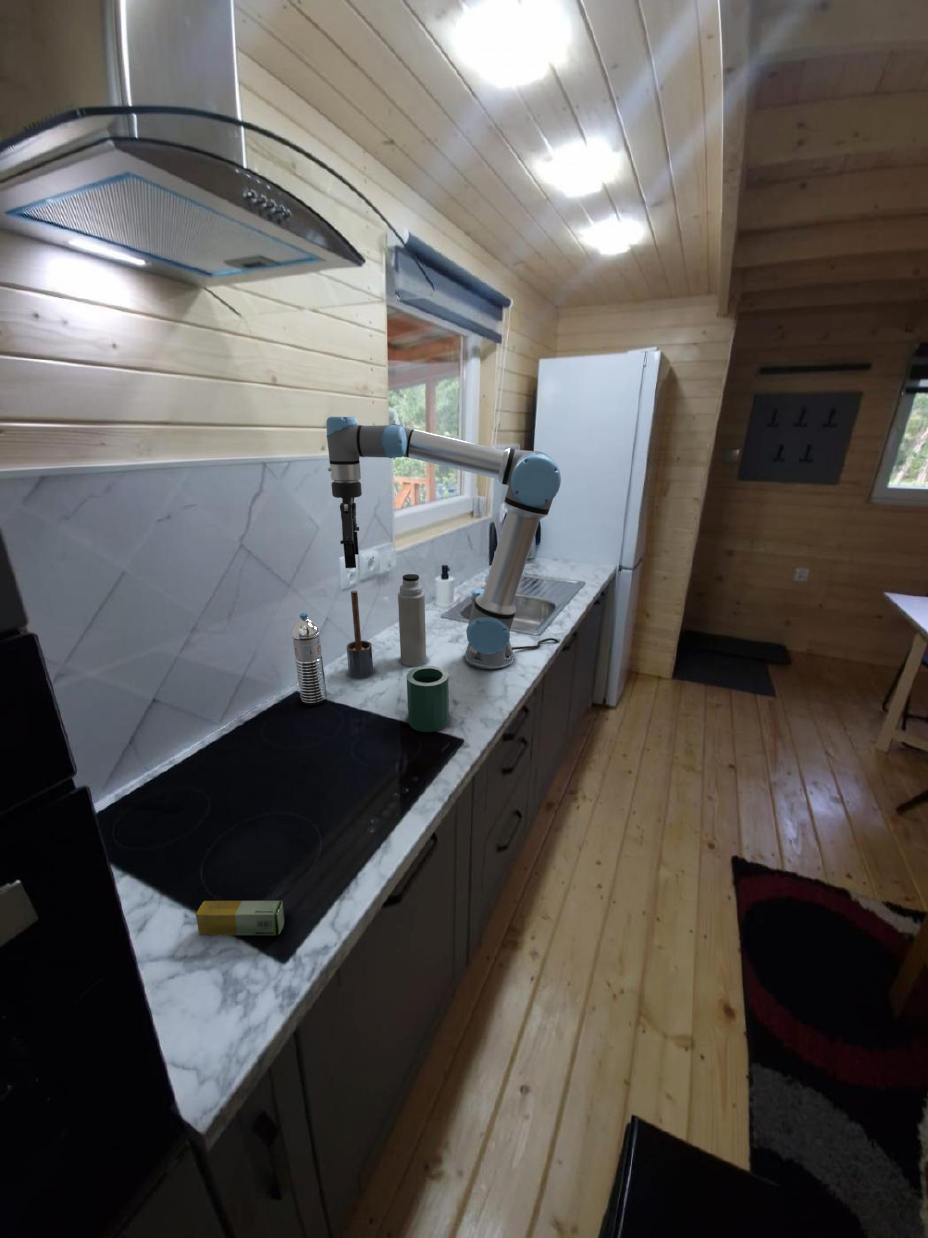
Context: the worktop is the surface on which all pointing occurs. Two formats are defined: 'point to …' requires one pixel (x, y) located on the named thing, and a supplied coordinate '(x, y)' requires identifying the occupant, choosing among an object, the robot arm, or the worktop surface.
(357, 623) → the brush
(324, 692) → the water bottle
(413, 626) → the thermos bottle
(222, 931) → the medication box
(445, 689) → the jar
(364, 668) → the holder
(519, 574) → the robot arm
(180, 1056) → the worktop surface
